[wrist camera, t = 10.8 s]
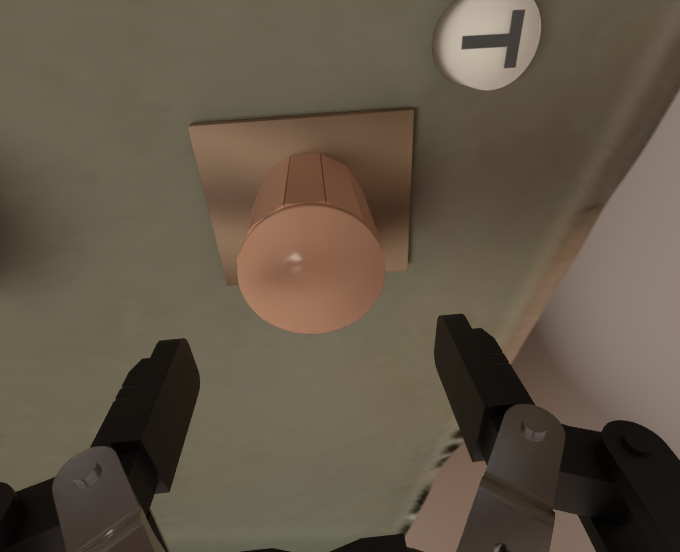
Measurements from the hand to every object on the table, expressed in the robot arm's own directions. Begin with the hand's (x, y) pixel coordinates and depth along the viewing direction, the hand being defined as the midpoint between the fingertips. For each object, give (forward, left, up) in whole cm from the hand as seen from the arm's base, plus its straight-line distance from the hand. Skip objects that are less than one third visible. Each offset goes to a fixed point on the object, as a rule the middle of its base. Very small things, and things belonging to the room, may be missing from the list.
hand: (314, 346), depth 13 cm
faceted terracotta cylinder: (0, 0, -12) cm, 12 cm away
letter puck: (-8, +9, -13) cm, 18 cm away
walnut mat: (0, 0, -13) cm, 13 cm away
